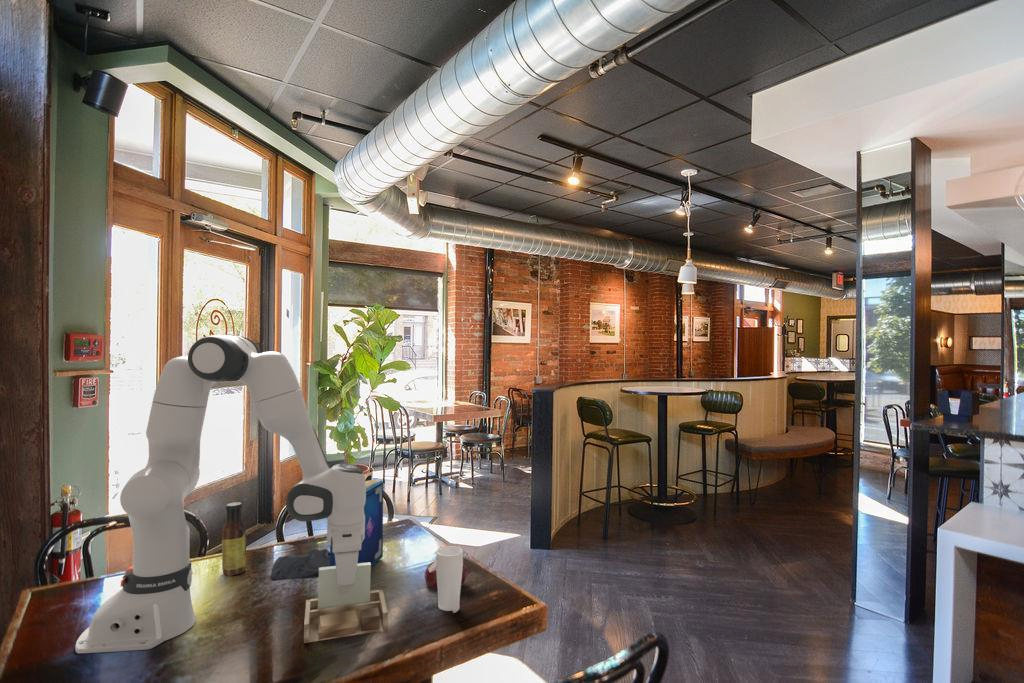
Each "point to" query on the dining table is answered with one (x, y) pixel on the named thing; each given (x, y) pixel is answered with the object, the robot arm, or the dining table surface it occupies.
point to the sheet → (332, 592)
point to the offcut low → (336, 633)
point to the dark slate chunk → (300, 565)
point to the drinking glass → (449, 577)
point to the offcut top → (338, 621)
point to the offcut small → (370, 619)
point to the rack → (314, 613)
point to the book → (371, 525)
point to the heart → (432, 577)
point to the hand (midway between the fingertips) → (344, 589)
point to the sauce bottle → (234, 541)
